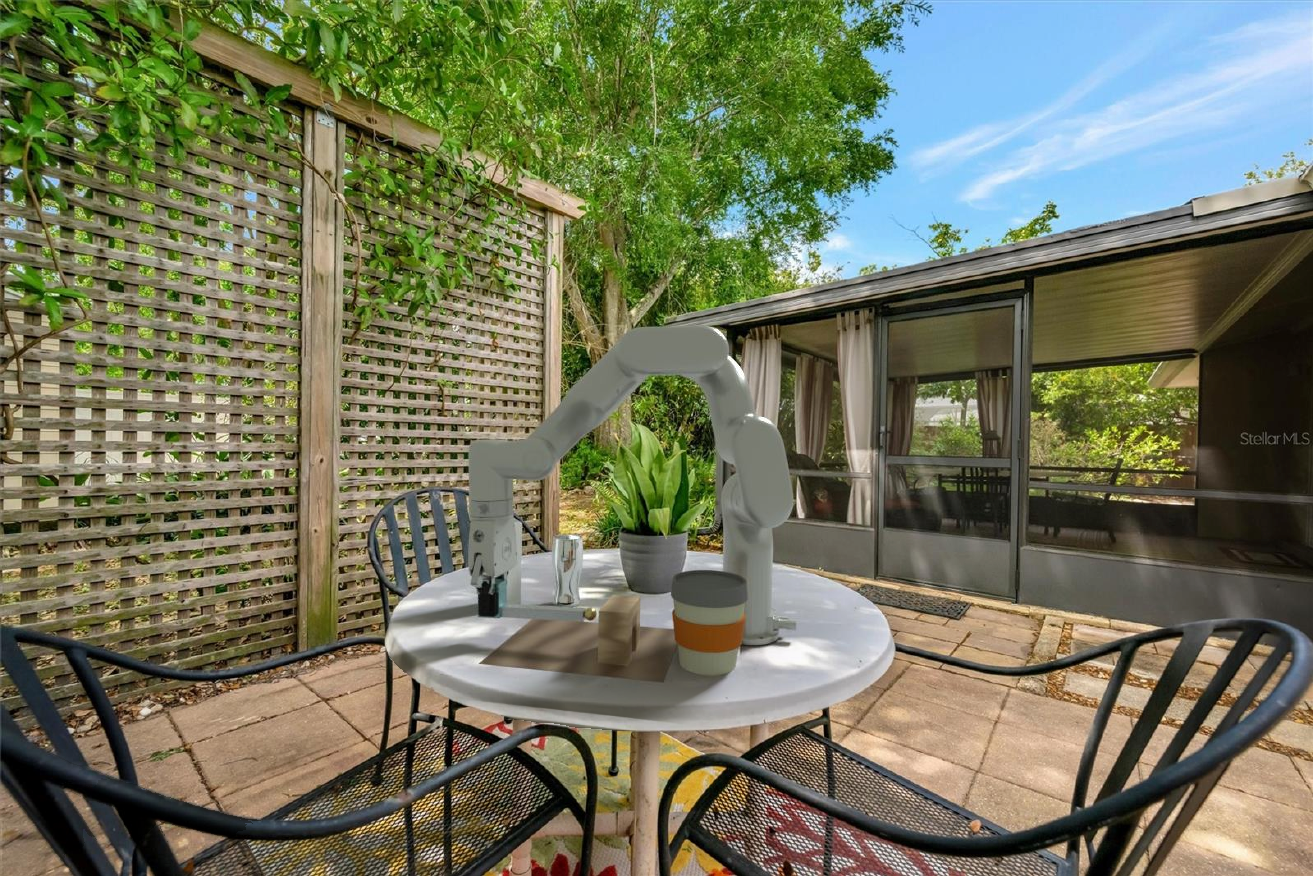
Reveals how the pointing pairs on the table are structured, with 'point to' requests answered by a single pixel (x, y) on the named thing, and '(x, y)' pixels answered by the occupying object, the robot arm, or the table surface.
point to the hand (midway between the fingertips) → (492, 611)
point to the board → (582, 650)
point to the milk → (515, 570)
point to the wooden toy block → (618, 629)
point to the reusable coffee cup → (708, 619)
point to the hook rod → (537, 608)
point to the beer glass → (567, 568)
